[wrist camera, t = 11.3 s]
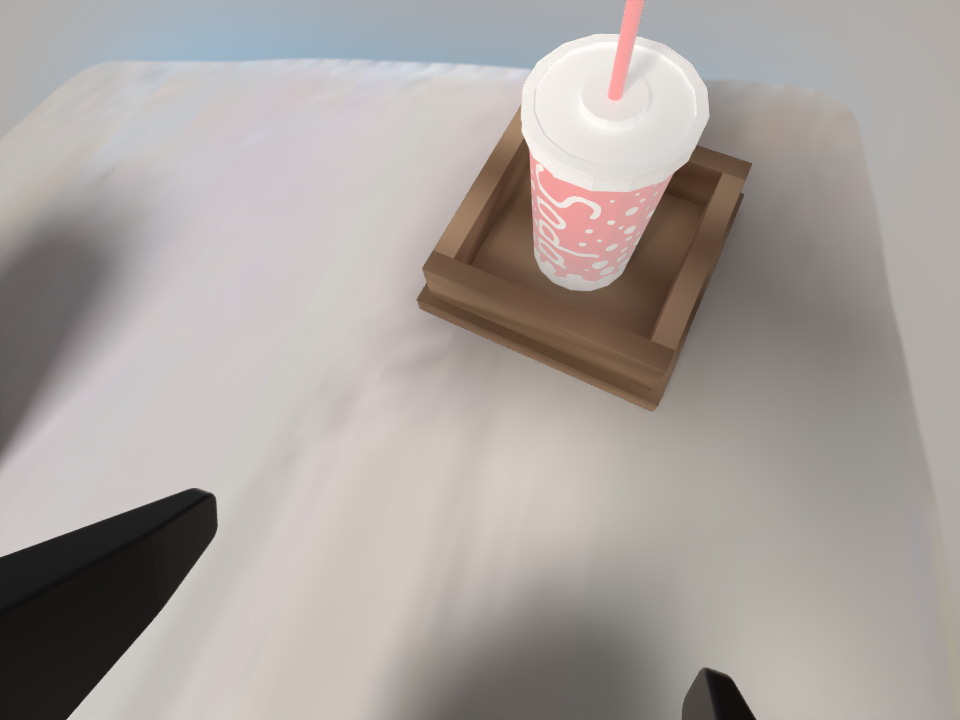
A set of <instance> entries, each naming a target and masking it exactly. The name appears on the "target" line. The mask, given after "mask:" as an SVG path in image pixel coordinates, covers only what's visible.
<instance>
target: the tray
mask: <svg viewBox="0 0 960 720" xmlns="http://www.w3.org/2000/svg"><path fill="white" fill-rule="evenodd" d="M521 105H522V104H521ZM751 165H752V163H749V162H746V161H743V160H740V159H737V158H734V157H731V156H728V155H725V154H722V153H718V152H715V151H712V150H709V149H706V148H703V147H700V146H697V145H696V147H695V149H694V151H693V152H692V154H691V156H690V158H689V160H688V162H687V163H685V164H684V165H683V166H682V167H680V168H679V169H678V170H677V171H675V172H674V174H673V175H672V177H671V179H670V181H669V183H668V185H667V187H666V189H665V191H664V193H663V195H662V197H661V199H660V201H659V203H658V205H657V207H656V209H655V211H654V212H653V214H652V216H651V218H650V220H649V222H648V224H647V226H646V228H645V230H644V232H643V234H642V236H641V238H640V240H639V242H638V244H637V246H636V248H635V249H634V251H633V253H632V255H631V257H630V259H629V261H628V263H627V265H626V267H625V269H624V271H623V273H622V274H621V275H620V276H619V277H618V278H617V279H615V280H614V281H613V282H612V283H611V284H609V285H608V286H605V287H602V288H598V289H595V290H592V291H578V290H569V289H567V288H565V287H562V286H560V285H557V284H555V283H553V282H552V281H551V280H550V279H549V278H548V277H547V276H546V275H545V274H544V273H543V272H542V271H541V270H540V268H539V265H538V263H537V260H536V258H535V255H534V236H533V215H532V194H531V172H530V151H529V147H528V145H527V143H526V140H525V138H524V136H523V134H522V121H521V106H520V107H519V109H518V111H517V112H516V114H515V116H514V117H513V119H512V121H511V122H510V124H509V126H508V127H507V129H506V131H505V132H504V134H503V136H502V137H501V139H500V141H499V142H498V144H497V145H496V147H495V149H494V150H493V152H492V154H491V155H490V157H489V159H488V160H487V162H486V164H485V165H484V167H483V169H482V170H481V172H480V174H479V175H478V177H477V179H476V180H475V182H474V184H473V185H472V187H471V189H470V190H469V192H468V194H467V195H466V197H465V198H464V200H463V202H462V203H461V205H460V207H459V208H458V210H457V212H456V213H455V215H454V217H453V218H452V220H451V222H450V223H449V225H448V227H447V228H446V230H445V232H444V233H443V235H442V237H441V238H440V240H439V242H438V243H437V245H436V247H435V248H434V250H433V252H432V253H431V255H430V256H429V258H428V260H427V261H426V263H425V265H424V266H423V268H422V269H423V272H424V275H425V278H426V282H427V283H426V285H425V286H424V288H423V290H422V291H421V293H420V295H419V296H418V298H417V302H418V304H419V307H420V309H422V310H424V311H427V312H429V313H431V314H433V315H436V316H438V317H440V318H442V319H445V320H447V321H449V322H451V323H454V324H456V325H458V326H460V327H463V328H465V329H467V330H469V331H472V332H474V333H476V334H478V335H481V336H483V337H485V338H487V339H490V340H492V341H494V342H497V343H499V344H501V345H503V346H506V347H508V348H510V349H512V350H515V351H517V352H519V353H521V354H524V355H526V356H528V357H530V358H533V359H535V360H537V361H539V362H542V363H544V364H546V365H548V366H551V367H553V368H555V369H557V370H560V371H562V372H564V373H567V374H569V375H571V376H573V377H576V378H578V379H580V380H582V381H585V382H587V383H589V384H591V385H594V386H596V387H598V388H600V389H603V390H605V391H607V392H609V393H612V394H614V395H616V396H618V397H621V398H623V399H625V400H627V401H630V402H632V403H634V404H637V405H639V406H641V407H643V408H646V409H648V410H650V411H652V412H653V410H654V409H655V408H656V407H657V406H658V405H659V402H660V400H661V397H662V395H663V392H664V390H665V387H666V385H667V383H668V380H669V378H670V375H671V373H672V370H673V368H674V365H675V363H676V360H677V358H678V356H679V353H680V351H681V348H682V346H683V343H684V341H685V338H686V336H687V334H688V331H689V329H690V326H691V324H692V321H693V319H694V316H695V314H696V311H697V309H698V307H699V304H700V302H701V299H702V297H703V294H704V292H705V289H706V287H707V284H708V282H709V280H710V277H711V275H712V272H713V270H714V267H715V265H716V262H717V260H718V258H719V255H720V253H721V250H722V248H723V245H724V243H725V240H726V238H727V235H728V233H729V231H730V228H731V226H732V223H733V221H734V218H735V216H736V213H737V211H738V209H739V206H740V204H741V201H742V199H743V196H744V194H742V193H740V192H741V190H742V187H743V185H744V182H745V180H746V177H747V175H748V173H749V170H750V168H751Z"/></svg>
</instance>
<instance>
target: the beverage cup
mask: <svg viewBox="0 0 960 720" xmlns="http://www.w3.org/2000/svg"><path fill="white" fill-rule="evenodd" d="M644 1H645V0H627V1H626V6H625V11H624V16H623V21H622V26H621V30H620V34H595V35H591V36H588V37H585V38H581V39H578V40H574V41H571V42H567V43H564V44H562V45H561V46H560V47H558V48H557V49H555V50H554V51H552V52H551V53H550V54H548V55H547V56H545V57H544V58H542V59H541V60H539V61H538V63H537V64H536V66H535V67H534V69H533V70H532V72H531V74H530V75H529V77H528V78H527V80H526V82H525V83H524V85H523V92H522V105H521V121H522V134H523V136H524V138H525V140H526V143H527V145H528V147H529V151H530V172H531V194H532V215H533V236H534V255H535V258H536V260H537V263H538V265H539V268H540V270H541V271H542V272H543V273H544V274H545V275H546V276H547V277H548V278H549V279H550V280H551V281H552V282H553V283H555V284H557V285H560V286H562V287H565V288H567V289H569V290H578V291H592V290H595V289H598V288H602V287H605V286H608V285H609V284H611V283H612V282H613V281H614V280H615V279H617V278H618V277H619V276H620V275H621V274H622V273H623V271H624V269H625V267H626V265H627V263H628V261H629V259H630V257H631V255H632V253H633V251H634V249H635V248H636V246H637V244H638V242H639V240H640V238H641V236H642V234H643V232H644V230H645V228H646V226H647V224H648V222H649V220H650V218H651V216H652V214H653V212H654V211H655V209H656V207H657V205H658V203H659V201H660V199H661V197H662V195H663V193H664V191H665V189H666V187H667V185H668V183H669V181H670V179H671V177H672V175H673V174H674V172H675V171H677V170H678V169H679V168H680V167H682V166H683V165H684V164H685V163H687V162H688V160H689V158H690V156H691V154H692V152H693V151H694V149H695V147H696V145H697V143H698V141H699V138H700V136H701V134H702V132H703V130H704V128H705V126H706V124H707V121H708V119H709V104H708V92H707V87H706V86H705V84H704V82H703V81H702V79H701V78H700V76H699V75H698V73H697V71H696V70H695V68H694V67H693V65H692V64H691V63H690V62H689V61H688V60H686V59H685V58H683V57H682V56H680V55H679V54H678V53H676V52H675V51H673V50H672V49H670V48H669V47H668V46H666V45H665V44H662V43H658V42H655V41H652V40H648V39H645V38H642V37H638V36H637V31H638V27H639V23H640V18H641V14H642V10H643V6H644Z"/></svg>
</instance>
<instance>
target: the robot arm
mask: <svg viewBox="0 0 960 720" xmlns="http://www.w3.org/2000/svg"><path fill="white" fill-rule="evenodd" d="M217 527H218V522H217V504H216V497H215V496H214V494H212V493H210V492H207V491H204V490H201V489H198V488H191V489H188V490H185V491H182V492H180V493H177V494H174V495H171V496H169V497H166V498H163V499H160V500H158V501H155V502H152V503H149V504H147V505H144V506H141V507H138V508H135V509H133V510H130V511H127V512H124V513H122V514H119V515H116V516H113V517H111V518H108V519H105V520H102V521H100V522H97V523H94V524H91V525H89V526H86V527H83V528H80V529H78V530H75V531H72V532H69V533H67V534H64V535H61V536H58V537H55V538H53V539H50V540H47V541H44V542H42V543H39V544H36V545H33V546H31V547H28V548H25V549H22V550H20V551H17V552H14V553H11V554H9V555H6V556H3V557H0V720H66V719H67V718H68V717H69V716H70V715H71V714H72V713H73V711H74V710H75V709H76V708H77V707H78V706H79V705H80V703H81V702H82V701H83V700H84V699H85V698H86V697H87V695H88V694H89V693H90V692H91V691H92V690H93V688H94V687H95V686H96V685H97V684H98V683H99V682H100V680H101V679H102V678H103V677H104V676H105V675H106V674H107V672H108V671H109V670H110V669H111V668H112V667H113V666H114V664H115V663H116V662H117V661H118V660H119V659H120V657H121V656H122V655H123V654H124V653H125V652H126V651H127V649H128V648H129V647H130V646H131V645H132V644H133V643H134V641H135V640H136V639H137V638H138V637H139V636H140V635H141V633H142V632H143V631H144V630H145V629H146V628H147V626H148V625H149V624H150V623H151V622H152V621H153V619H154V618H155V617H156V616H157V615H158V613H159V612H160V611H161V610H162V609H163V607H164V606H165V605H166V603H167V602H168V601H169V599H170V598H171V597H172V595H173V594H174V592H175V591H176V590H177V588H178V587H179V585H180V584H181V583H182V581H183V580H184V579H185V577H186V576H187V574H188V573H189V572H190V570H191V569H192V567H193V566H194V565H195V563H196V562H197V561H198V559H199V558H200V556H201V555H202V554H203V552H204V551H205V549H206V548H207V547H208V545H209V544H210V543H211V541H212V540H213V538H214V536H215V534H216V531H217ZM682 720H756V718H755V717H754V715H753V713H752V712H751V710H750V708H749V707H748V705H747V703H746V701H745V700H744V698H743V696H742V695H741V693H740V691H739V690H738V688H737V686H736V684H735V683H734V681H733V680H732V679H731V678H730V677H729V676H728V675H727V674H724V673H721V672H719V671H716V670H713V669H710V668H706V667H705V668H702V669H701V670H700V671H699V673H698V675H697V677H696V678H695V680H694V682H693V684H692V686H691V687H690V689H689V691H688V693H687V694H686V697H685V699H684V703H683V708H682Z"/></svg>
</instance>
